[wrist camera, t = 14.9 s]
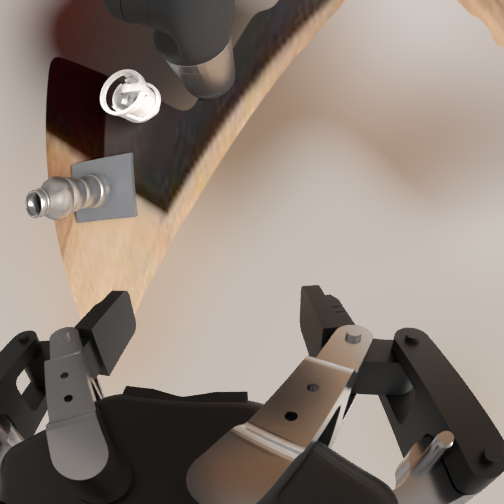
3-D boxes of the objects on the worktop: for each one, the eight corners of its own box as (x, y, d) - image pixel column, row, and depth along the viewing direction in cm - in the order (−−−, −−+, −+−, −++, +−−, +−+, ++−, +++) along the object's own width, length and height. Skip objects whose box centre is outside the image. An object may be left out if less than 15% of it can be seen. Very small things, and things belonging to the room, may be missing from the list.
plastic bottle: (99, 212, 47) (34, 239, 28) (82, 186, 45) (13, 201, 26) (121, 191, 46) (57, 208, 27) (102, 164, 44) (34, 168, 25)
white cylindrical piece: (168, 126, 44) (137, 110, 29) (133, 128, 43) (93, 116, 29) (171, 90, 42) (143, 63, 27) (136, 93, 41) (99, 71, 27)
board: (74, 164, 45) (71, 164, 44) (132, 153, 45) (130, 152, 44) (80, 221, 48) (77, 222, 47) (137, 215, 48) (135, 216, 47)
